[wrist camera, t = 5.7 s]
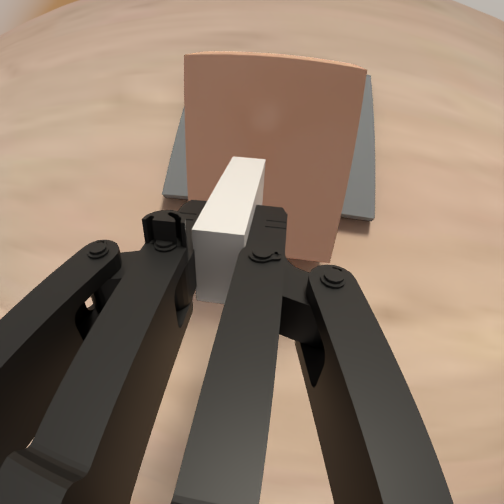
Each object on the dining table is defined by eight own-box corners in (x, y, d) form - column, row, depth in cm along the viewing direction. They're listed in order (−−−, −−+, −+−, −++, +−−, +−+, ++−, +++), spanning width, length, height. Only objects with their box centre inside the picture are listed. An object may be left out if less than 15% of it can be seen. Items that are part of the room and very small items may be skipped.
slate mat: (371, 221, 23) (374, 218, 23) (165, 197, 25) (162, 194, 24) (368, 80, 26) (370, 75, 25) (200, 64, 27) (198, 58, 26)
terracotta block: (329, 262, 20) (367, 69, 13) (191, 246, 21) (184, 54, 14) (326, 228, 23) (354, 64, 16) (206, 214, 24) (205, 51, 17)
